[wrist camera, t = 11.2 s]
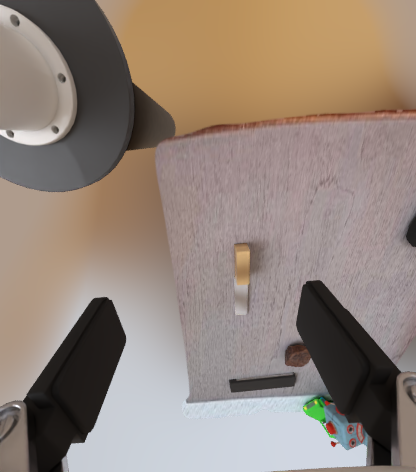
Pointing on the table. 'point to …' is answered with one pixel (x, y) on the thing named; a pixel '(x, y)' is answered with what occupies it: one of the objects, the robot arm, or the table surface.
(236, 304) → the knife
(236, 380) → the dark grey flat bar
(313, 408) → the toy car
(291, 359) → the stone
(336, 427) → the toy robot
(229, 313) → the table surface
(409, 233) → the gaming mouse
